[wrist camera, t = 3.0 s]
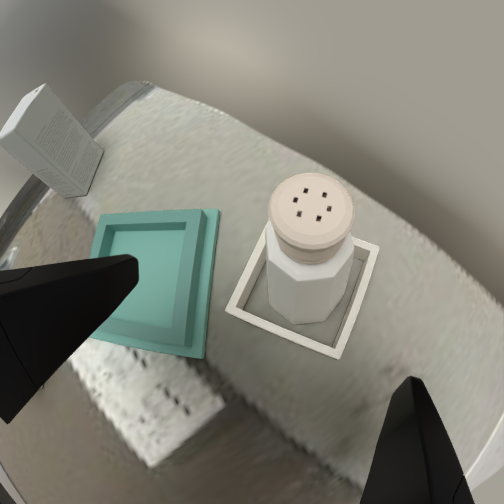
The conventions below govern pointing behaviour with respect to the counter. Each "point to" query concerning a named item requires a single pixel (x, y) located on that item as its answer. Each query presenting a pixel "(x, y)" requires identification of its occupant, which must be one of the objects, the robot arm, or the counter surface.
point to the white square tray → (235, 308)
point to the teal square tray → (161, 278)
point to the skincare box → (51, 143)
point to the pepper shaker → (308, 247)
